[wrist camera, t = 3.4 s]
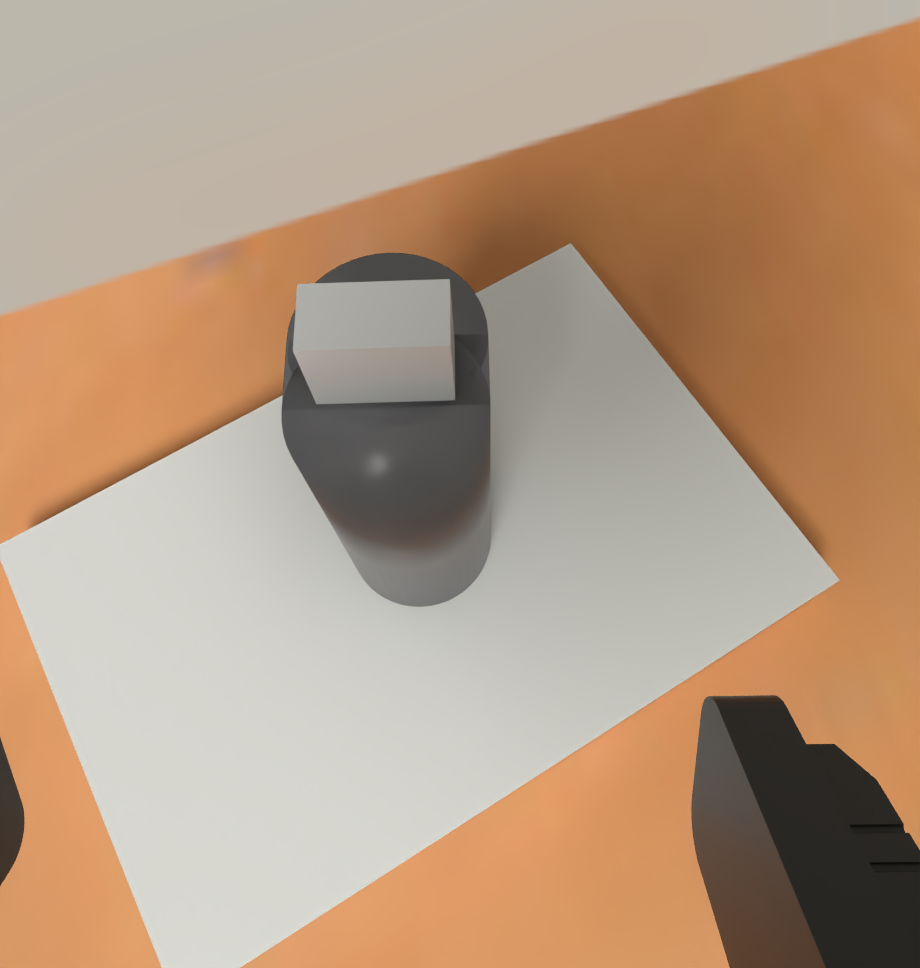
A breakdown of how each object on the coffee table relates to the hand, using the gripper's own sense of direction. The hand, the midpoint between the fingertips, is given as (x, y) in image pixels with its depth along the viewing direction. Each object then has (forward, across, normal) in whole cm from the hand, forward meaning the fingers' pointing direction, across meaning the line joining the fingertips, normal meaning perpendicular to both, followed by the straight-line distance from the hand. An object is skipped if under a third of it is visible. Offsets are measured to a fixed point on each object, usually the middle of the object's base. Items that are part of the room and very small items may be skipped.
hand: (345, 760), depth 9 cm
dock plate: (+12, 0, +4) cm, 13 cm away
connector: (+12, 0, +3) cm, 12 cm away
